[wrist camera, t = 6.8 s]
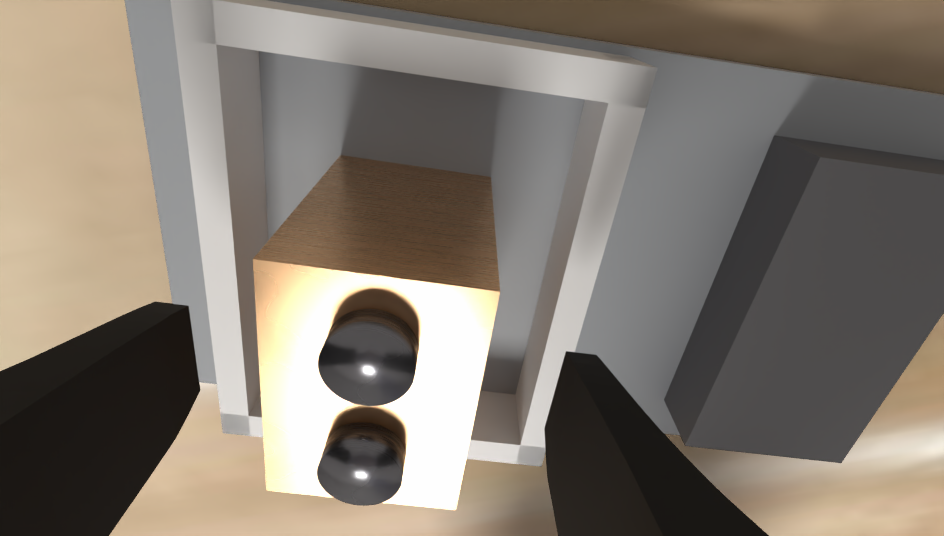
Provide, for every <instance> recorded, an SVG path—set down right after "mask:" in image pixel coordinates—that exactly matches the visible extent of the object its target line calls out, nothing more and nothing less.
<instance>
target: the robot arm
mask: <svg viewBox="0 0 944 536" xmlns="http://www.w3.org/2000/svg"><path fill="white" fill-rule="evenodd" d="M199 392H200V385H199V377H198V370H197V363H196V356H195V348H194V341H193V334H192V327H191V319H190V312H189V306H187V305H178V304H170V303H162V302H153V303H151V304H148V305H146V306H143V307H141V308H138V309H136V310H134V311H131V312H129V313H127V314H125V315H122V316H120V317H118V318H116V319H114V320H112V321H109V322H107V323H105V324H103V325H101V326H99V327H97V328H94V329H92V330H90V331H88V332H86V333H84V334H82V335H80V336H77V337H75V338H73V339H71V340H69V341H67V342H64V343H62V344H60V345H58V346H56V347H54V348H52V349H49V350H47V351H45V352H43V353H41V354H39V355H37V356H34V357H32V358H30V359H28V360H26V361H23V362H21V363H19V364H16V365H14V366H12V367H9V368H7V369H5V370H2V371H0V536H109V535H110V533H111V532H112V530H113V529H114V528H115V526H116V525H117V523H118V522H119V520H120V519H121V517H122V516H123V515H124V513H125V512H126V510H127V509H128V507H129V506H130V504H131V503H132V502H133V500H134V499H135V497H136V496H137V494H138V493H139V491H140V490H141V489H142V487H143V486H144V484H145V483H146V481H147V480H148V479H149V477H150V476H151V474H152V473H153V471H154V470H155V468H156V467H157V465H158V464H159V462H160V461H161V459H162V458H163V456H164V455H165V454H166V452H167V451H168V449H169V448H170V446H171V445H172V443H173V442H174V440H175V439H176V437H177V435H178V433H179V431H180V429H181V427H182V426H183V424H184V422H185V420H186V418H187V416H188V414H189V412H190V410H191V408H192V406H193V404H194V402H195V400H196V398H197V396H198V394H199ZM544 431H545V449H546V464H547V477H548V483H549V488H550V494H551V499H552V505H553V510H554V516H555V521H556V526H557V531H558V536H769V535H767V534H766V533H765V532H764V531H763V530H762V529H761V528H760V527H758V526H757V525H756V524H755V523H754V522H753V521H752V520H751V519H750V518H748V517H747V516H746V515H745V514H744V513H743V512H742V511H741V510H740V509H738V508H737V507H736V506H735V505H734V504H733V503H732V502H731V501H730V500H728V499H727V498H726V497H725V496H724V495H723V494H722V493H721V492H720V491H719V490H718V489H717V488H716V487H715V486H714V485H713V484H712V483H711V482H710V481H709V480H708V479H707V478H706V477H705V476H704V475H703V474H702V473H701V472H700V471H699V470H698V469H697V468H696V467H695V466H694V465H693V464H692V463H691V462H690V461H689V460H688V459H687V458H686V457H685V456H684V455H683V454H682V453H681V452H680V451H679V449H678V448H677V447H676V446H675V445H674V444H673V443H672V442H671V441H670V440H669V439H668V438H667V437H666V435H665V434H664V433H663V432H662V431H661V430H660V429H659V428H658V426H657V425H656V424H655V423H654V422H653V421H652V420H651V418H650V417H649V416H648V415H647V414H646V413H645V412H644V410H643V409H642V408H641V407H640V406H639V405H638V403H637V402H636V401H635V400H634V399H633V397H632V396H631V395H630V394H629V393H628V391H627V390H626V389H625V388H624V387H623V385H622V384H621V383H620V382H619V381H618V379H617V378H616V377H615V376H614V375H613V373H612V372H611V371H610V370H609V369H608V367H607V366H606V365H605V364H604V363H603V362H602V360H601V359H600V358H599V357H598V356H597V355H594V354H586V353H577V352H569V351H566V353H565V356H564V360H563V363H562V367H561V371H560V374H559V378H558V381H557V385H556V388H555V392H554V396H553V399H552V403H551V406H550V410H549V414H548V417H547V421H546V424H545V428H544Z"/></svg>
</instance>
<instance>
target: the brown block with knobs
mask: <svg viewBox="0 0 944 536" xmlns="http://www.w3.org/2000/svg"><path fill="white" fill-rule="evenodd" d="M253 273H254V290H255V306H256V323H257V340H258V357H259V374H260V390H261V407H262V424H263V441H264V458H265V474H266V490H267V491H277V492H286V493H296V494H305V495H315V496H325V497H334V498H336V499H338V500H340V501H342V502H345V503H349V504H353V505H375V504H379V503H392V504H401V505H411V506H420V507H430V508H439V509H449V510H456V507H457V502H458V497H459V492H460V487H461V482H462V478H463V473H464V468H465V463H466V458H467V453H468V448H469V443H470V438H471V433H472V428H473V423H474V418H475V413H476V409H477V404H478V399H479V394H480V389H481V384H482V379H483V374H484V369H485V364H486V359H487V354H488V349H489V344H490V340H491V335H492V330H493V325H494V320H495V315H496V310H497V305H498V300H499V295H500V283H499V271H498V258H497V246H496V233H495V221H494V208H493V196H492V183H491V177H488V176H481V175H474V174H467V173H460V172H454V171H447V170H440V169H433V168H426V167H419V166H413V165H406V164H399V163H392V162H385V161H378V160H371V159H365V158H358V157H351V156H344V155H340V156H339V157H338V159H337V160H336V161H335V162H334V163H333V165H332V166H331V167H330V168H329V169H328V170H327V172H326V173H325V174H324V175H323V176H322V178H321V179H320V180H319V181H318V182H317V184H316V185H315V186H314V187H313V188H312V189H311V191H310V192H309V193H308V194H307V195H306V197H305V198H304V199H303V200H302V201H301V202H300V204H299V205H298V206H297V207H296V208H295V210H294V211H293V212H292V213H291V214H290V215H289V217H288V218H287V219H286V220H285V221H284V223H283V224H282V225H281V226H280V227H279V229H278V230H277V231H276V232H275V233H274V234H273V236H272V237H271V238H270V239H269V240H268V242H267V243H266V244H265V245H264V246H263V247H262V249H261V250H260V251H259V252H258V253H257V255H256V256H255V257H254V258H253Z"/></svg>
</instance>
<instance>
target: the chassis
mask: <svg viewBox="0 0 944 536" xmlns="http://www.w3.org/2000/svg"><path fill="white" fill-rule="evenodd" d="M125 6H126V12H127V18H128V25H129V31H130V37H131V44H132V50H133V56H134V63H135V69H136V75H137V82H138V88H139V94H140V101H141V107H142V113H143V119H144V126H145V132H146V138H147V145H148V151H149V157H150V164H151V170H152V176H153V183H154V189H155V195H156V201H157V208H158V214H159V220H160V227H161V233H162V239H163V246H164V252H165V258H166V265H167V271H168V277H169V283H170V290H171V296H172V302H173V304H178V305H187V306H189V312H190V319H191V327H192V334H193V341H194V348H195V356H196V363H197V370H198V377H199V382H203V383H212V384H217V389H218V397H219V406H220V414H221V422H222V430H223V433H227V434H237V435H246V436H256V437H263V424H262V407H261V390H260V374H259V357H258V340H257V323H256V306H255V290H254V273H253V258H254V257H255V256H256V255H257V253H258V252H259V251H260V250H261V249H262V247H263V246H264V245H265V244H266V243H267V242H268V240H269V239H270V238H271V237H272V236H273V234H274V233H275V232H276V231H277V230H278V229H279V227H280V226H281V225H282V224H283V223H284V221H285V220H286V219H287V218H288V217H289V215H290V214H291V213H292V212H293V211H294V210H295V208H296V207H297V206H298V205H299V204H300V202H301V201H302V200H303V199H304V198H305V197H306V195H307V194H308V193H309V192H310V191H311V189H312V188H313V187H314V186H315V185H316V184H317V182H318V181H319V180H320V179H321V178H322V176H323V175H324V174H325V173H326V172H327V170H328V169H329V168H330V167H331V166H332V165H333V163H334V162H335V161H336V160H337V159H338V157H339V156H340V155H344V156H351V157H358V158H365V159H371V160H378V161H385V162H392V163H399V164H406V165H413V166H419V167H426V168H433V169H440V170H447V171H454V172H460V173H467V174H474V175H481V176H488V177H491V183H492V196H493V208H494V221H495V233H496V246H497V258H498V271H499V283H500V295H499V300H498V305H497V310H496V315H495V320H494V325H493V330H492V335H491V340H490V344H489V349H488V354H487V359H486V364H485V369H484V374H483V379H482V384H481V389H480V394H479V399H478V404H477V409H476V413H475V418H474V423H473V428H472V433H471V438H470V443H469V448H468V453H467V458H466V459H474V460H484V461H493V462H503V463H512V464H522V465H531V466H542V462H543V459H544V456H545V452H546V449H545V431H544V428H545V424H546V421H547V417H548V414H549V410H550V406H551V403H552V399H553V396H554V392H555V388H556V385H557V381H558V378H559V374H560V371H561V367H562V363H563V360H564V356H565V353H566V351H569V352H577V353H586V354H594V355H597V356H598V357H599V358H600V359H601V360H602V362H603V363H604V364H605V365H606V366H607V367H608V369H609V370H610V371H611V372H612V373H613V375H614V376H615V377H616V378H617V379H618V381H619V382H620V383H621V384H622V385H623V387H624V388H625V389H626V390H627V391H628V393H629V394H630V395H631V396H632V397H633V399H634V400H635V401H636V402H637V403H638V405H639V406H640V407H641V408H642V409H643V410H644V412H645V413H646V414H647V415H648V416H649V417H650V418H651V420H652V421H653V422H654V423H655V424H656V425H657V426H658V428H659V429H660V430H661V431H662V432H663V433H664V434H672V435H680V436H681V438H682V440H683V442H684V445H685V446H691V447H700V448H709V449H718V450H727V451H736V452H745V453H755V454H764V455H773V456H782V457H791V458H800V459H809V460H819V461H828V462H837V463H842V461H843V460H844V458H845V457H846V455H847V454H848V452H849V451H850V449H851V448H852V446H853V445H854V443H855V442H856V441H857V439H858V438H859V436H860V435H861V433H862V432H863V430H864V429H865V427H866V426H867V424H868V423H869V422H870V420H871V419H872V417H873V416H874V414H875V413H876V411H877V410H878V408H879V407H880V405H881V404H882V402H883V401H884V400H885V398H886V397H887V395H888V394H889V392H890V391H891V389H892V388H893V386H894V385H895V383H896V382H897V381H898V379H899V378H900V376H901V375H902V373H903V372H904V370H905V369H906V367H907V366H908V364H909V363H910V361H911V360H912V359H913V357H914V356H915V354H916V353H917V351H918V350H919V348H920V347H921V345H922V344H923V342H924V341H925V340H926V338H927V337H928V335H929V334H930V332H931V331H932V329H933V328H934V326H935V325H936V323H937V322H938V320H939V319H940V318H941V316H942V315H943V313H944V94H939V93H932V92H926V91H919V90H913V89H907V88H900V87H894V86H887V85H881V84H875V83H868V82H862V81H855V80H849V79H843V78H836V77H830V76H823V75H817V74H811V73H804V72H798V71H791V70H785V69H779V68H772V67H766V66H759V65H753V64H747V63H740V62H734V61H727V60H721V59H715V58H708V57H702V56H695V55H689V54H683V53H676V52H670V51H663V50H657V49H651V48H644V47H638V46H631V45H625V44H619V43H612V42H606V41H599V40H593V39H587V38H580V37H574V36H567V35H561V34H555V33H548V32H542V31H535V30H529V29H522V28H516V27H510V26H503V25H497V24H490V23H484V22H478V21H471V20H465V19H458V18H452V17H446V16H439V15H433V14H426V13H420V12H414V11H407V10H401V9H394V8H388V7H382V6H375V5H369V4H362V3H356V2H350V1H343V0H125Z"/></svg>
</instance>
